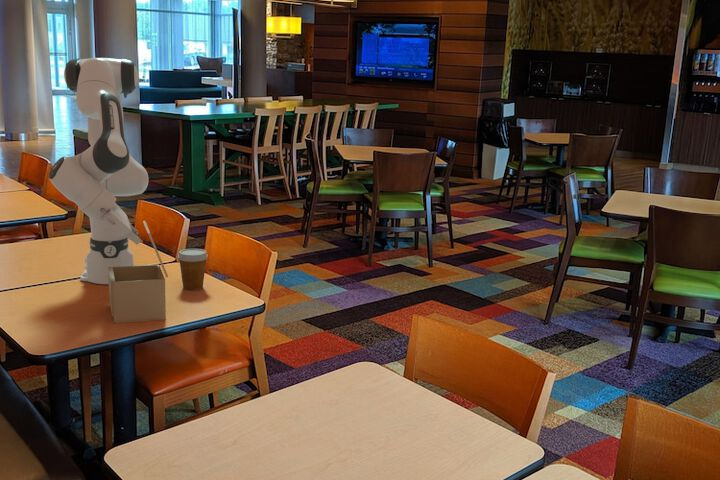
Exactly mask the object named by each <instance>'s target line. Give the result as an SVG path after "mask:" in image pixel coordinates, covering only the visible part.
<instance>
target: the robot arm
mask: <svg viewBox="0 0 720 480" xmlns="http://www.w3.org/2000/svg"><path fill="white" fill-rule="evenodd" d="M63 77H64V78H63V79H64V82H65V83H66V87H67V88H68V89H69V91H71V92H74V93H76V97H75V98H76V105H77V108H78V110H79V111H80V112H81V113H82V114H83V115H84V116H85V117H87V137H88V138H87V140H88V144H89V145H90V146H89V147H88V148H87V149H86V150H84V151H82V152H79V154H76V155H73V156H62V157H60V158H59V159H58V160H57V161H55V163H54V164H53V165H52V166H51V169H50V170H49V173H48V179H49V181H50V183H51V184H52V185H53V187H54V188H55V189H56V190H57V191H59V193H61V195H63V196H64V197H65V198H66V199H67V200H69V201H70V202H73V203H75V205H76V206H77V207H78V209H79V210H80V211H81V212H82V213H84V214H85V215H86V216H87V217H88V218H89V223H90V234H91V235H90V237H89V238H90V239H89V247H90V251H89V252H88V253H87V254H86V256H85V257H84V264H85V270H84V271H83V273H82V274H81V276H80V277H79V280H80V281H83V282H88V283H92V284H97V285H109V277H108V267H119V266H135V265H134V264H135V263H134V262H135V261H134V253H133V252H131V251H130V250H129V240H130V241H131V242H133V243H134V244H135V245H139V244H140V243H142V239H141V238H140V237H139V236H138V234H139V231H138V229H137V228H135V227H134V226H133V225H132V224H131V222H130V221H129V217H128V215H127V214H126V212H125V211H124V210H123V208H121V207H120V206H119V205H118V204H117V203H116V201H117V197H131V196H137V195H140V194H143V193H145V191H146V190H147V187H148V185H149V179H150V178H149V174H148V171H147V170H146V168H145V167H144V166H143V165H142V164H140V163H139V162H138V161H136V159H134V157H133V156H132V155H131V153H130V150H129V148H128V145H127V142H126V137H125V125H124V123H125V122H124V109H123V108H124V107H123V102H122V98H121V95H122V94H123V97H124V99H126V98H127V97H128V95H131V94H132V93H133V92H134V91H135V90H136V88H137V85H138V82H139V71H138V69H137V67H136V64H135V63H134V62H133V61H132V60H129V59H125V58H121V59H119V58H113V57H109V58H108V57H92V58H90V57H89V58H73V59H70V60H68V61H67V62H66V64H65V67H64V71H63Z"/></svg>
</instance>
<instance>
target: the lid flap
mask: <svg viewBox="0 0 720 480" xmlns="http://www.w3.org/2000/svg"><path fill="white" fill-rule="evenodd" d="M142 222H143V225H144V228H145V230H146V232H147V234H148V236H149V239H150V241H151V244H152V247H153V249H154V251H155V254H156V256H157V258H158V262H159V263H160V264H159V265H161V266H160V267H161V268H162V272H163V273H164V277H165V279H166V278H169V275H168V273H167V270H166V267H165V266H164V264H163V263H164V262H163V261H162V258H161V255H160V253H159V251H158V249H157V246H156V244H155V241H154V238H153V237H152V234H151V232H150V229H149V226H148V224H147V222H146V220H143V221H142Z"/></svg>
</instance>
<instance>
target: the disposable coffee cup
mask: <svg viewBox="0 0 720 480" xmlns="http://www.w3.org/2000/svg"><path fill="white" fill-rule="evenodd" d="M208 256H209V255H208V254H207V251H206V250H205V249H202V248H186V249H181V250H179V251H178V254H177V258H178V260H179V267H180V268H179V269H180V274H181V283H182V287H183V289H184V290H187V289H188V290H189V291H196V290H195V289H198V290H200V288H201V289H203V288H202V287H204V279H205V271H206V265H207V259H208Z"/></svg>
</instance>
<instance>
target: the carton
mask: <svg viewBox="0 0 720 480" xmlns="http://www.w3.org/2000/svg"><path fill="white" fill-rule="evenodd" d="M161 268H162V267H161V266H160V264H142V265H140V264H139V265H134V266H119V267H108V277H109V284H108V296H109V297H108V299H109V307H110V312H111V317H112V318H113V324H125V323H138V322H139V323H140V322H149V321H151V322H153V321H163V320H164V321H165V320H166V318H167V317H166V315H167V313H166V311H167V310H166V277H165V275H164V274H163V273H164V272H163V270H162V269H161Z"/></svg>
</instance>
